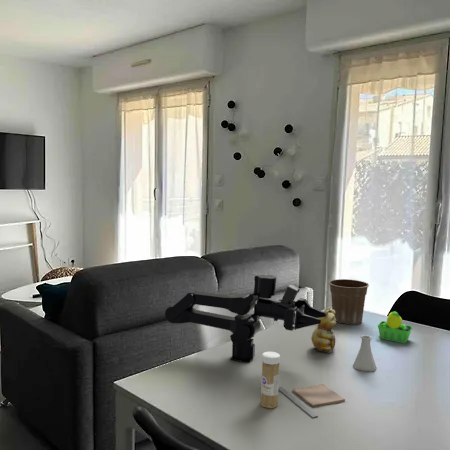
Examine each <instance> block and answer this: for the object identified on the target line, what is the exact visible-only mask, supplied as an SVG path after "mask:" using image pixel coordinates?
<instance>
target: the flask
mask: <svg viewBox="0 0 450 450" xmlns="http://www.w3.org/2000/svg"><path fill="white" fill-rule="evenodd" d="M372 338H373V337H372V336H370V335H367V334H362V335H361V336H360V339H361V342H360V348H359V351H358V353H357V355H356V357H355V359H354V362H353V364H352V367H353V368H354V369H355V370H358V371H363V372H375V371H376V370H377V365H376V362H375V358H374V355H373V352H372V346H371V340H372Z"/></svg>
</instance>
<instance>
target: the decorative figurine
mask: <svg viewBox="0 0 450 450" xmlns="http://www.w3.org/2000/svg"><path fill="white" fill-rule="evenodd" d="M323 312H325V313H326V316H325V317H320V318H318V319H320V320H321V323H320V324H317V326H316V328H315V329H314V331H313V332H312V334H311V337H310V338H311V342H312V344H313V347H314V348H316V351H319V352H324V353H329V354H331V352H333V350H334V349H335V346H336V334H335V332H334V329H333V328H334V327H335V326H336V324H337V322H336V318H335V317H334V316H335V314H336V312H335V310H333V309H332V306H328V307H327V306H326V307H325V309H324V310H323Z"/></svg>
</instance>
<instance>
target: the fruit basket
mask: <svg viewBox="0 0 450 450" xmlns="http://www.w3.org/2000/svg"><path fill="white" fill-rule="evenodd" d="M402 322H403V318H402V317H401V316H400V315H399V313H398V312H397V311H391V312H390V313H389V314H388V316H387V318H386V321H383V320H382V321H381V322H379V323H378V324H377V329H378V332H379V338H380V339H381V340H388V341H393V342H397V343H401V344H406V342H407V341H408V340H409V338H410V335H411V332H412V330H413V326H411V325H407V324H405V323H402Z"/></svg>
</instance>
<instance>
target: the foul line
mask: <svg viewBox="0 0 450 450" xmlns="http://www.w3.org/2000/svg"><path fill="white" fill-rule="evenodd" d="M278 392H280V393H281V394H283V395H284V396H285V397H286V398H288V399H289V400H290V401H291V402H293V403H294V404H295V405H296V406H297V407H299V408H300V409H301V410H302V411H303V412H305V413H306V414H307V415H308V416H309V417H310V418H312V419H315V418H318V417H319V416H318V415H317V414H316V413H315V412H314V411H312V410H311V409H310V408H309V407H307V406H306V405H305V404H304V403H302V402H301V401H300V400H299V399H298V398H296V397H295V396H294V395H293V394H292V393H290V392H289V391H288V390H286V389H285V388H284V387H283V386H278Z"/></svg>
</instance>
